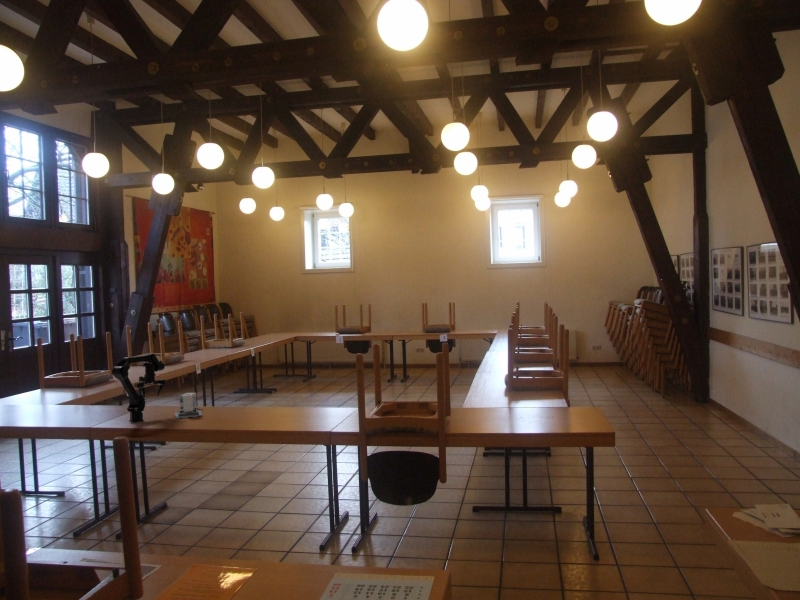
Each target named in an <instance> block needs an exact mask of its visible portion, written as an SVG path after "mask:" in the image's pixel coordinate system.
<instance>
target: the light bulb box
mask: <svg viewBox="0 0 800 600" xmlns="http://www.w3.org/2000/svg"><path fill="white" fill-rule="evenodd" d="M190 394H192V401H193V409H195V408H196V409H198V407H197V405H198V404H197V401H198V400H197V392H186V393H184V394H179V411H181V410H184V409H183V395H190Z"/></svg>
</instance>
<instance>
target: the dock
mask: <svg viewBox="0 0 800 600" xmlns="http://www.w3.org/2000/svg"><path fill="white" fill-rule="evenodd" d="M197 416H202V417H203V413H202V411H201V409H200V410H199V409H198V408H196V409H193V412H192V413H184V410H181V411H180V410H178V411H177V412H174V417H175V418H174V419H175V420H181V419H180V418H184V419H189V418H188V417H193V418H198V417H197Z"/></svg>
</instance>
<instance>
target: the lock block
mask: <svg viewBox="0 0 800 600" xmlns="http://www.w3.org/2000/svg"><path fill="white" fill-rule="evenodd" d="M182 395H183V394H182ZM183 409H184V413H192V412H193V401H192V394H190V395H183Z"/></svg>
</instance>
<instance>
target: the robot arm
mask: <svg viewBox="0 0 800 600" xmlns="http://www.w3.org/2000/svg"><path fill="white" fill-rule="evenodd" d="M135 363H143V364H142V367H143V368H144V373H145V374H144V376H141V375H140V376H139V377H138V382H134V385H133V383H132V382H131V380H130V378H129V370H130V369H131V364H135ZM165 368H166V366H165V364H164V362H163V360H159V359H158V357H157V356H156V353H143V354H141V355H137V356H127V357H126V356H124V357H123V358H122V359H121V360H120V361H118V362H117V363H116V364H115V366H114V367H113V368H112V370H111V374H112V375H113V377H114V378H115V379H117V380H118V381H119V382H120V383H121V385H122V387H123V389H124V390H125V392H126V394H127V395H128V398H129V405H128V406H127V408H126V410H127V412H129V420H128V421H129V422H131V423H135V422H136V423H137V422H142V421H144V413H143V412H144V411H145V406H146V398H145V397H146V396H145V395H146V394H145V393H146V390H145V389H146V388H145V387H144V386H151V385H156V396H160V393H161V390H162V389H163V387H164V386H165V384H166V385H167V380H166V379H163V378H161V379H156V375H157V373H156V372H161V371H164V370H165ZM135 388H136V389H138V390H139V391H140V394H138V393H137V390H136V389H135Z"/></svg>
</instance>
